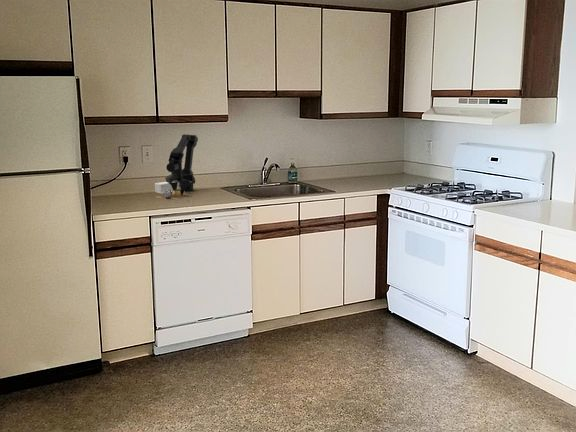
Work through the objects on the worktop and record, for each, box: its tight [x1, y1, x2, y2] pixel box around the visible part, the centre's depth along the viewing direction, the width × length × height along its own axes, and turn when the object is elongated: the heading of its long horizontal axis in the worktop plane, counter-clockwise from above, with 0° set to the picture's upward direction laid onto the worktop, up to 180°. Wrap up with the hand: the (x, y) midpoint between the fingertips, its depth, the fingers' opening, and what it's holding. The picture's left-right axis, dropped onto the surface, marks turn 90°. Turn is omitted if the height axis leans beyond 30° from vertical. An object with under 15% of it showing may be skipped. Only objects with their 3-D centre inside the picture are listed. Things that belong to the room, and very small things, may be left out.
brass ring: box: [171, 189, 186, 196], centre depth 377 cm, size 7×7×3 cm
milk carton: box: [154, 181, 180, 194], centre depth 391 cm, size 7×7×19 cm
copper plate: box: [156, 193, 194, 201], centre depth 372 cm, size 20×16×1 cm
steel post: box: [164, 190, 172, 200], centre depth 365 cm, size 4×4×5 cm
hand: (178, 193), depth 378 cm, fingers closed on brass ring, 7 cm apart
